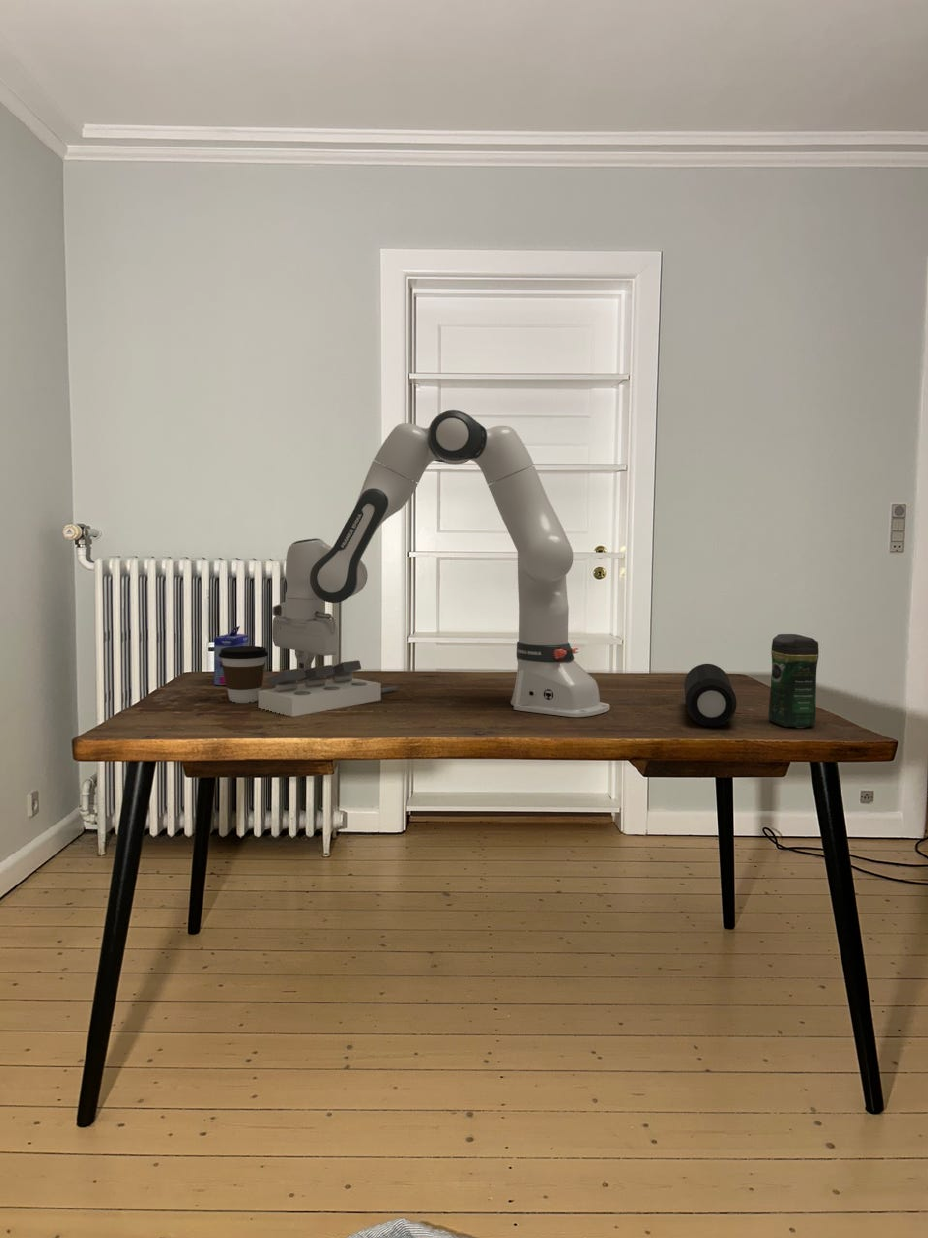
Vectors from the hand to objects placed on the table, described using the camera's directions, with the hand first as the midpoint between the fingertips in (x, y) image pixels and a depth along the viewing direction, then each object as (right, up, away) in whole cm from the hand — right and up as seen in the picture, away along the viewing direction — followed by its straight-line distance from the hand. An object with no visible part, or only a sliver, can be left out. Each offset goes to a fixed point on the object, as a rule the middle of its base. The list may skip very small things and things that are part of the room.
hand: (304, 670), depth 201 cm
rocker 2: (+3, -1, -2) cm, 4 cm away
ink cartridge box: (-23, -5, +23) cm, 33 cm away
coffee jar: (+104, -10, -20) cm, 106 cm away
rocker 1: (-3, -1, -8) cm, 9 cm away
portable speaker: (+89, -9, -13) cm, 90 cm away
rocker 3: (+8, 0, +3) cm, 9 cm away
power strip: (+8, -7, +1) cm, 11 cm away
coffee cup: (-14, -7, +1) cm, 16 cm away
